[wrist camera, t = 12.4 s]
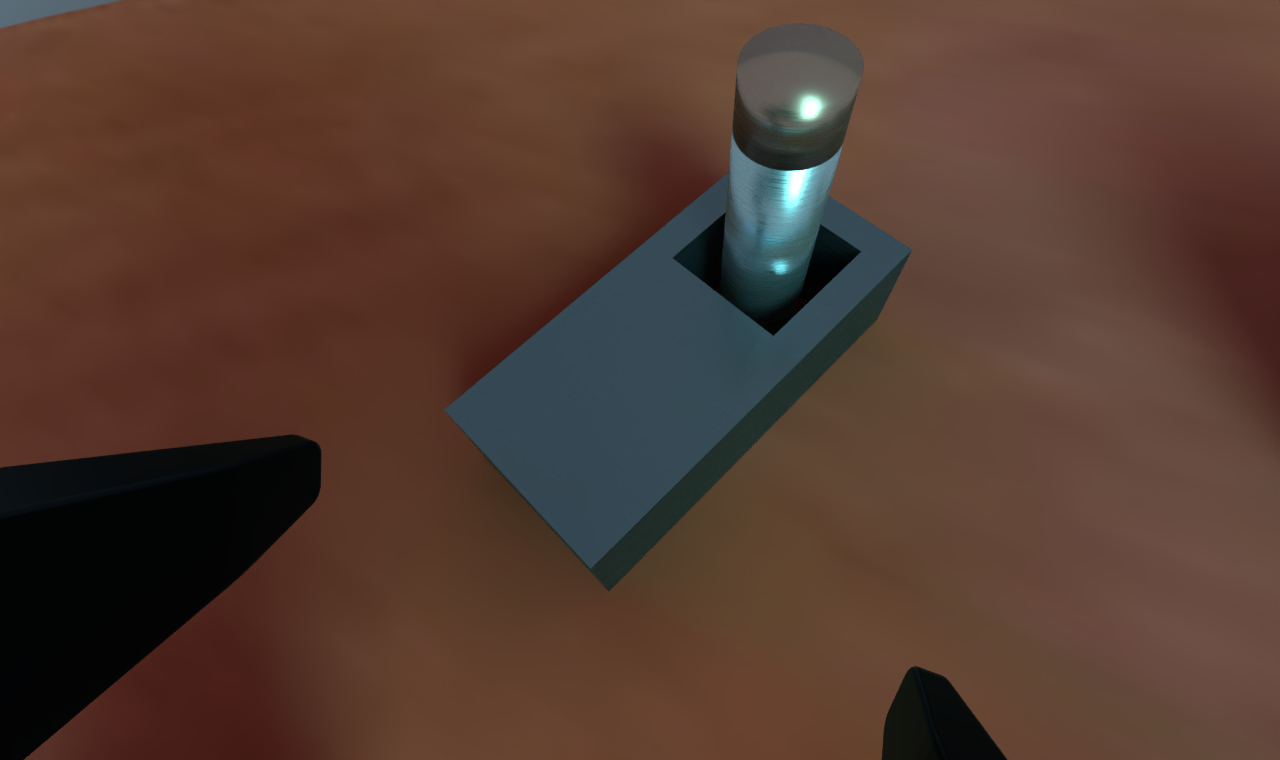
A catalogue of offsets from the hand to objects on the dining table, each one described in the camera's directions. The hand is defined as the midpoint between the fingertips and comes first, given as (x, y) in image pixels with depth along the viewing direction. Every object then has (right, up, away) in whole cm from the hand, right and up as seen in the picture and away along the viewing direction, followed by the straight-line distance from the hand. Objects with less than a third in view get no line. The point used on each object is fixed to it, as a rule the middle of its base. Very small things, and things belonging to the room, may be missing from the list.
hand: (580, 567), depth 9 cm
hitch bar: (+3, +2, +16) cm, 17 cm away
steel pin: (+6, +5, +17) cm, 19 cm away
